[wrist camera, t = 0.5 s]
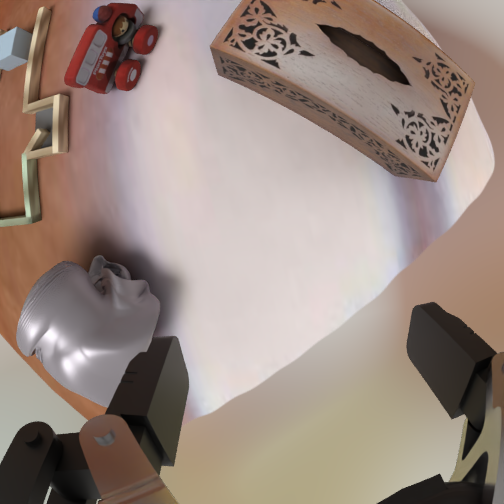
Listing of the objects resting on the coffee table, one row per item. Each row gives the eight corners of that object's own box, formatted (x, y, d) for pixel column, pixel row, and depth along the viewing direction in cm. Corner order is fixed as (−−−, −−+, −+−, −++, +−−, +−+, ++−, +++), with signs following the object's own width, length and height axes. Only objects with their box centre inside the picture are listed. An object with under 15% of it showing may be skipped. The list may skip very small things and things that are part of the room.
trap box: (-15, 46, 25) (-23, 44, 23) (82, -1, 26) (75, -7, 24) (-22, 227, 35) (-31, 230, 33) (72, 217, 36) (63, 220, 33)
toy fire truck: (167, 22, 29) (145, -15, 19) (129, 105, 32) (91, 88, 22) (123, 16, 28) (93, -17, 18) (86, 95, 31) (43, 80, 21)
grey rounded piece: (129, 374, 45) (123, 443, 31) (38, 331, 39) (6, 392, 25) (178, 280, 42) (181, 343, 28) (69, 225, 35) (21, 266, 22)
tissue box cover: (218, 75, 32) (209, 46, 22) (272, -5, 28) (280, -46, 19) (394, 175, 36) (436, 182, 26) (431, 94, 32) (475, 82, 23)
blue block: (13, 45, 27) (-5, 38, 22) (34, 35, 27) (17, 26, 22) (8, 70, 28) (-10, 66, 23) (29, 61, 28) (10, 54, 24)
